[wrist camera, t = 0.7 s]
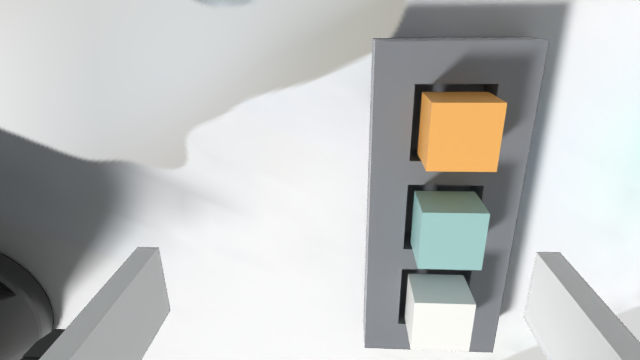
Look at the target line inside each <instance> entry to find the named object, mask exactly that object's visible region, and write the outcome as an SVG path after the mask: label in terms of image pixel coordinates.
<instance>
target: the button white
mask: <svg viewBox="0 0 640 360" xmlns="http://www.w3.org/2000/svg"><path fill="white" fill-rule="evenodd" d="M475 309H476V303H475V301H474V298H473V296H472V294H471V291H470V289H469V287H468V285H467V282H466V280H465V278H464V275H440V274H408V282H407V294H406V307H405V322H406V327H407V332H408V338H409V343H410V349H411V350H435V351H463V352H469V348H470V342H471V335H472V329H473V322H474V316H475Z"/></svg>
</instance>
